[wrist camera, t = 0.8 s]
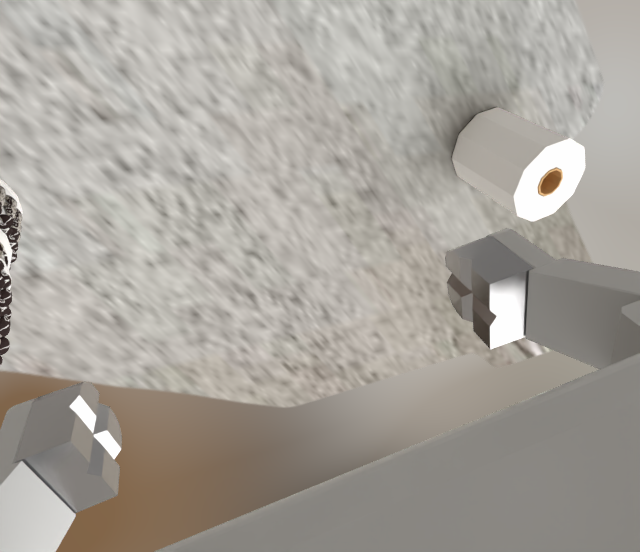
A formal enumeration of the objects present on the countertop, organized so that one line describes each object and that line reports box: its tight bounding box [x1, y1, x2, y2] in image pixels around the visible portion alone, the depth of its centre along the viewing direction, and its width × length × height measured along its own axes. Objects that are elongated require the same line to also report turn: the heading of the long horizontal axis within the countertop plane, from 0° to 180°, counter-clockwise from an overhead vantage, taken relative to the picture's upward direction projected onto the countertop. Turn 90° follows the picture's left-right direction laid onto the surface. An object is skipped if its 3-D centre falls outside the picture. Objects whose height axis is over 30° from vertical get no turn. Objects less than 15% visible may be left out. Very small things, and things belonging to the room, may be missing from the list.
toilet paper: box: [452, 107, 585, 222], centre depth 59 cm, size 10×10×12 cm
